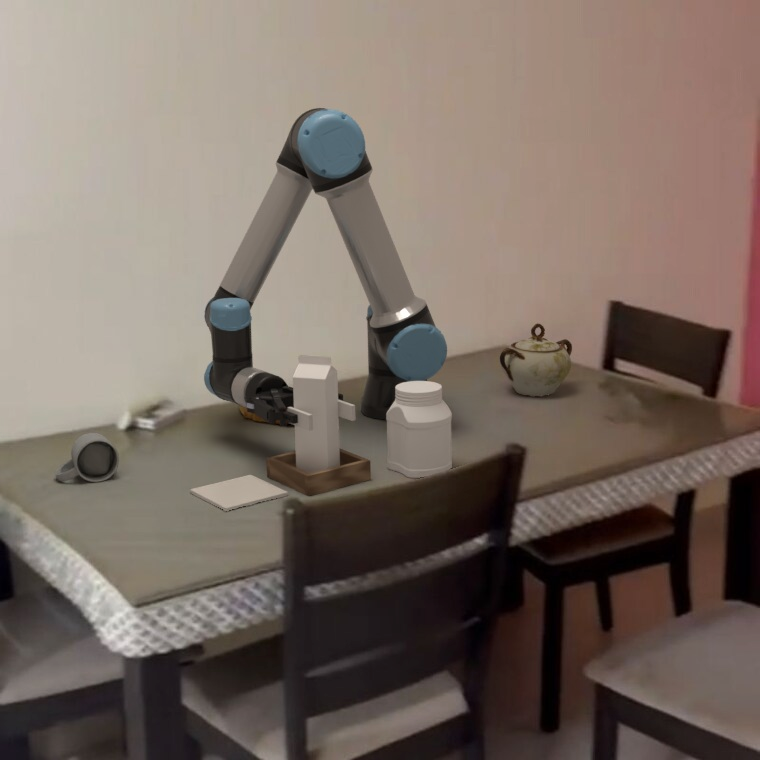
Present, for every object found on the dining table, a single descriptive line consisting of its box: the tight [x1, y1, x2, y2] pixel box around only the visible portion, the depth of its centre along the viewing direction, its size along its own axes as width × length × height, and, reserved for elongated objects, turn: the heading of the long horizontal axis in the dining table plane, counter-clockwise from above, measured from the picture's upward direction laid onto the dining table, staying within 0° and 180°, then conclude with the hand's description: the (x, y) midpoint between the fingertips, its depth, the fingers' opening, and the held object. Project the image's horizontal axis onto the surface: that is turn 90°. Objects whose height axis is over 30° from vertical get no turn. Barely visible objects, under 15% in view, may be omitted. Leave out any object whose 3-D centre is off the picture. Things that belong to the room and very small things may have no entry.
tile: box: [189, 474, 289, 512], centre depth 211 cm, size 12×12×1 cm
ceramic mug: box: [54, 432, 120, 483], centre depth 221 cm, size 11×8×8 cm
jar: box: [386, 380, 453, 479], centre depth 221 cm, size 12×10×15 cm
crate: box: [266, 448, 372, 497], centre depth 218 cm, size 13×13×4 cm
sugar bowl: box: [499, 323, 573, 397], centre depth 270 cm, size 20×15×15 cm
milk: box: [292, 354, 341, 473], centre depth 216 cm, size 6×6×22 cm
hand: (332, 417), depth 212 cm, fingers closed on milk, 8 cm apart
